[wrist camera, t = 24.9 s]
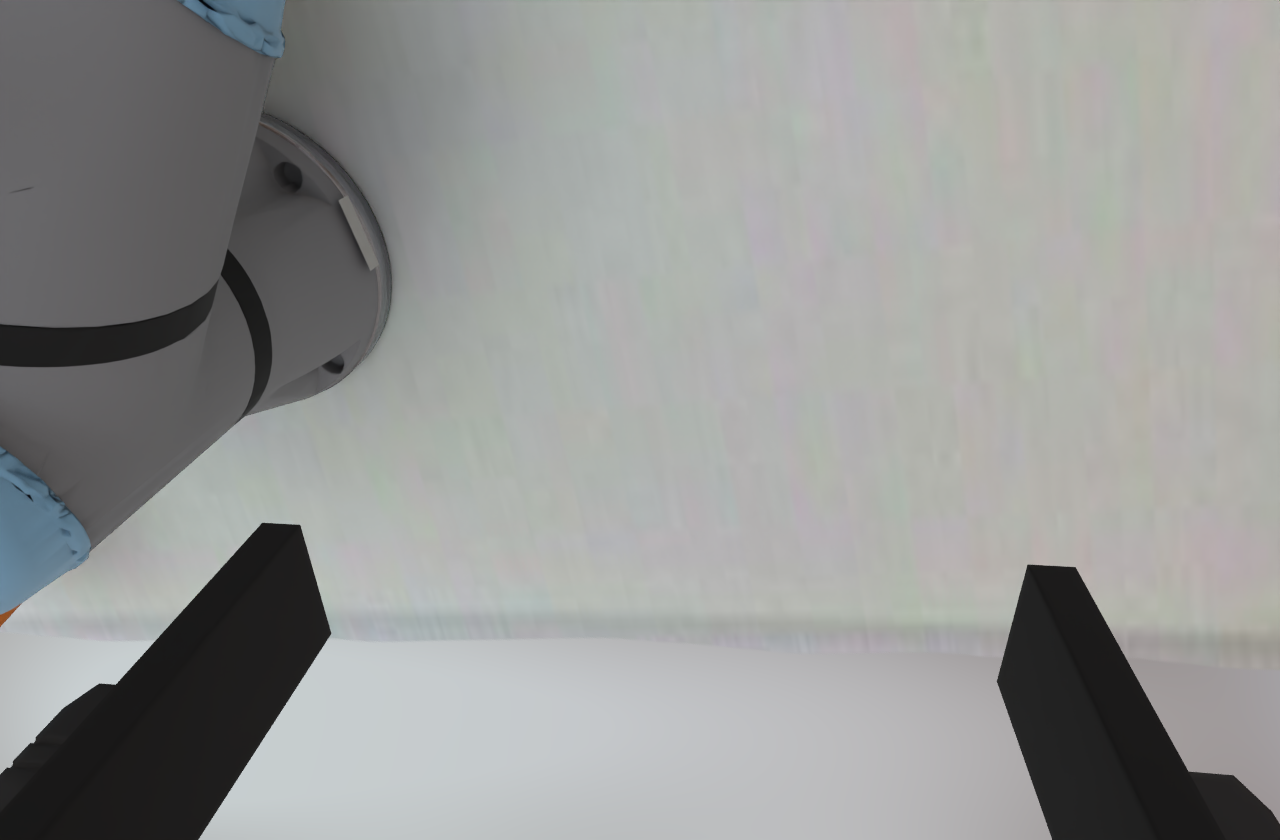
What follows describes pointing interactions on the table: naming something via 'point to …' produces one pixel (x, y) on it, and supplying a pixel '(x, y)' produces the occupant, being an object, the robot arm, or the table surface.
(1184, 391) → the table surface
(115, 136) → the robot arm
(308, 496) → the table surface
